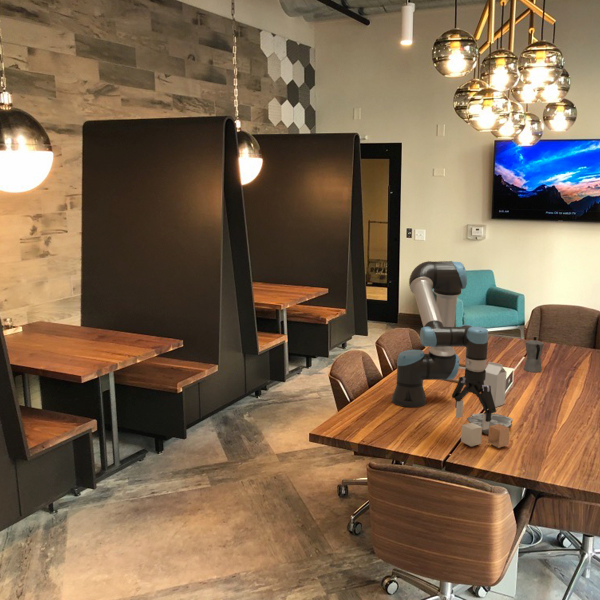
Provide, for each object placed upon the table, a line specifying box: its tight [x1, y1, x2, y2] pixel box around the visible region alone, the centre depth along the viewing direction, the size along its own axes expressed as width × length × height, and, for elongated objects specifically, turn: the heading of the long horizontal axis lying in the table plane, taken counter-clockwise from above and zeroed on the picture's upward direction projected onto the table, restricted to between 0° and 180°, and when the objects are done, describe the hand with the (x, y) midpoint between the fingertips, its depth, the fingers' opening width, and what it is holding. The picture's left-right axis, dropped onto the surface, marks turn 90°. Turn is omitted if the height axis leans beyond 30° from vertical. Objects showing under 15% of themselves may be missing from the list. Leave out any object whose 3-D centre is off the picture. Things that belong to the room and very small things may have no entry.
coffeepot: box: [523, 336, 545, 373], centre depth 349 cm, size 15×9×18 cm, turn 175°
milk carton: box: [484, 361, 507, 408], centre depth 296 cm, size 7×7×19 cm
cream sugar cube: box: [460, 422, 483, 447], centre depth 251 cm, size 5×5×7 cm
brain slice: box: [466, 412, 514, 436], centre depth 270 cm, size 20×17×3 cm
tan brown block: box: [487, 424, 511, 449], centre depth 250 cm, size 5×5×8 cm
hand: (472, 423), depth 250 cm, fingers open, 13 cm apart
